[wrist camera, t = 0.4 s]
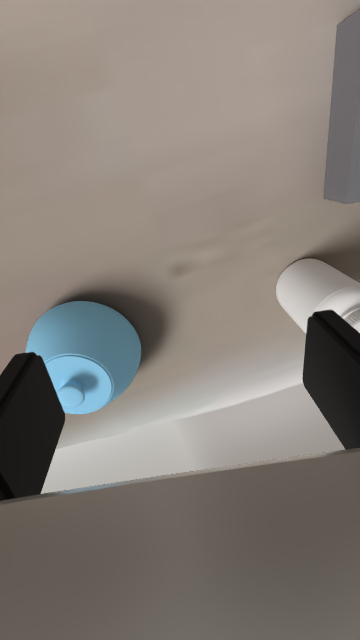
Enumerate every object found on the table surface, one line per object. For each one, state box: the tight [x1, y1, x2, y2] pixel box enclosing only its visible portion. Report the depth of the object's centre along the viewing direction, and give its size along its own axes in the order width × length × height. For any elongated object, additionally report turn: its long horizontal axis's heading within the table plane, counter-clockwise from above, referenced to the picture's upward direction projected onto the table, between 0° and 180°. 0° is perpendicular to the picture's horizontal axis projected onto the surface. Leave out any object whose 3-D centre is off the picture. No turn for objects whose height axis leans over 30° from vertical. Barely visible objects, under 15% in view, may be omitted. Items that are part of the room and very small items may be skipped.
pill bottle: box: [276, 259, 360, 333], centre depth 36 cm, size 8×8×15 cm
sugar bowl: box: [26, 301, 141, 414], centre depth 40 cm, size 15×15×12 cm
